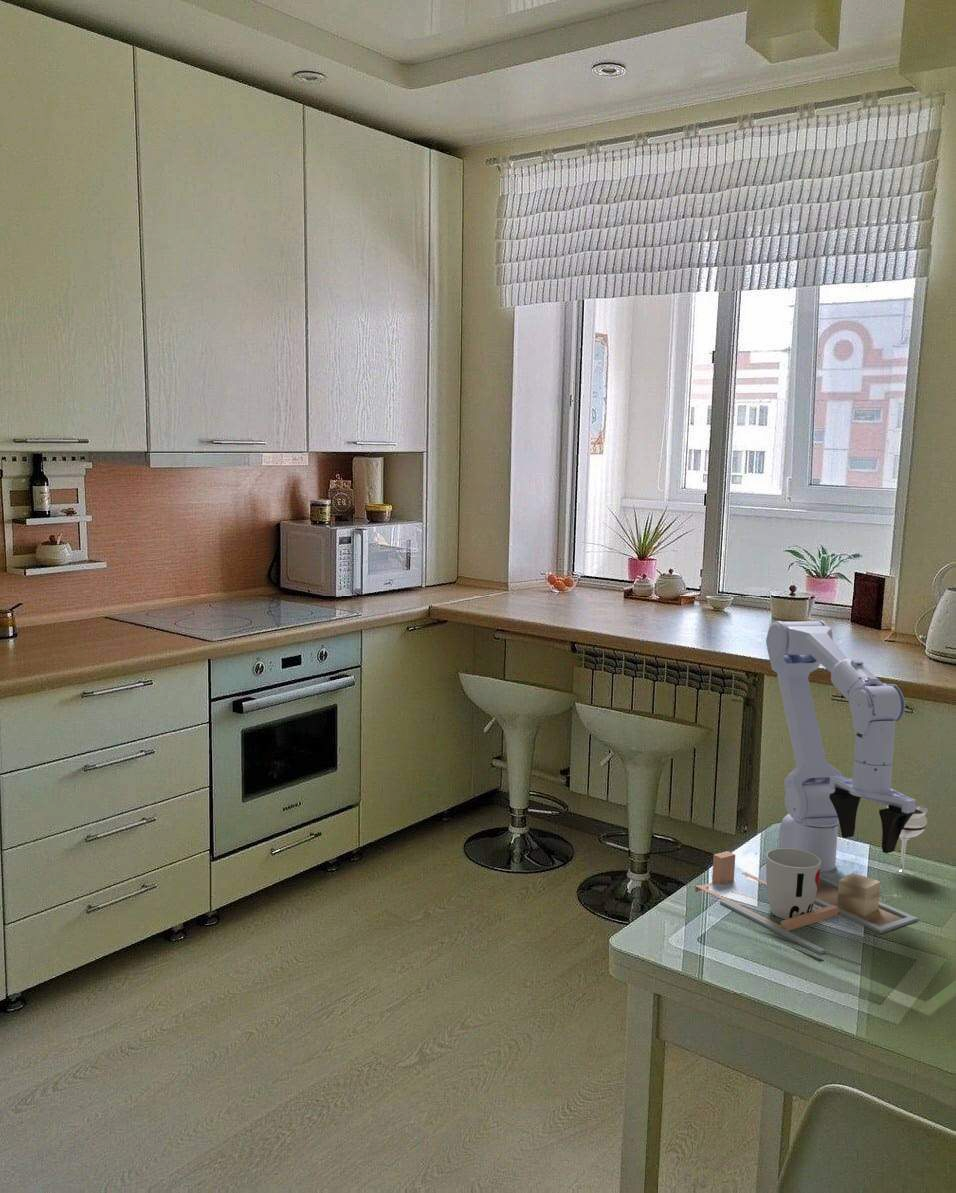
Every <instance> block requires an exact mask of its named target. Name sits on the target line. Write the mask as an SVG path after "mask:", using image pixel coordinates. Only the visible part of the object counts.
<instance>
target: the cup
mask: <svg viewBox="0 0 956 1193" xmlns="http://www.w3.org/2000/svg"><path fill="white" fill-rule="evenodd" d="M765 865H766V866H765V869H766V872H765V873H766V876H765V881H766V882H767V885H766V889H767V898H768V899H767V900H768V905H769V909H770V912H771V913H772V914H773V915H774V916H776V917H777V918H780V919H783V920H786V919H789V918H793V917H796V916H799V915H802V914H805V913H809V912H812V911H813V908H814V907H813V905H814V904H815V903H814V901H815V897H816V893H817V889H818V882H820V881H819V876H821V875H820V874H821V872H820V867H821V860H820V858H819V857H817V856H816V855H814V854H812V853H809V852H806V851H803V850H798V849H789V848H780V849H778V848H774V849H770V850H768V851H767V852H766V853H765Z"/></svg>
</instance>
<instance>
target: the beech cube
mask: <svg viewBox="0 0 956 1193" xmlns="http://www.w3.org/2000/svg"><path fill="white" fill-rule="evenodd" d="M838 884H839V887H838V889H837V890H838V901H837V907H838V908H841V909H843V910H846V911H849V912H852V913H855V914H857V915H860V916H863V917H865V916H867V915H868V914H870V913H872V912H874V911H876V910H877V909H878V908H879V907H878V906H879V901H880V891H881V881H880V880H877V879H874V878H871V877H869V876H868V877H867V876H864V875H861V874H859V873H855V872H851V873H850V874H848V875H846V876H844V877H842V878H839V879H838Z"/></svg>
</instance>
